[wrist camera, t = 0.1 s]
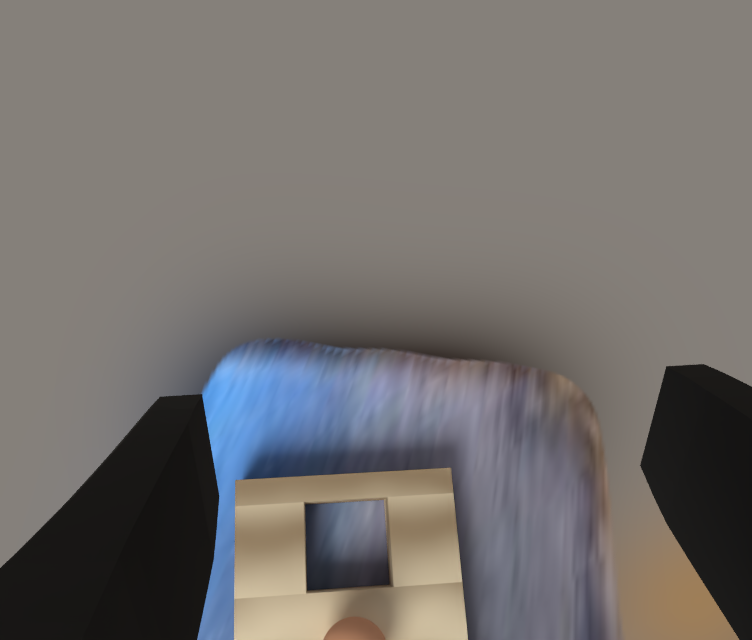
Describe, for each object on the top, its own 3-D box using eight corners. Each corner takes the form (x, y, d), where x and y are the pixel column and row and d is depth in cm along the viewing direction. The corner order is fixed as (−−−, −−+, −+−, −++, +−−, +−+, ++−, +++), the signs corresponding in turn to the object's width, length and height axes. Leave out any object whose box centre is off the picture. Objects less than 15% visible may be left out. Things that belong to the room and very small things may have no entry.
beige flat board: (475, 801, 36) (486, 819, 33) (238, 827, 34) (232, 847, 32) (443, 472, 41) (450, 467, 39) (240, 483, 40) (235, 480, 38)
